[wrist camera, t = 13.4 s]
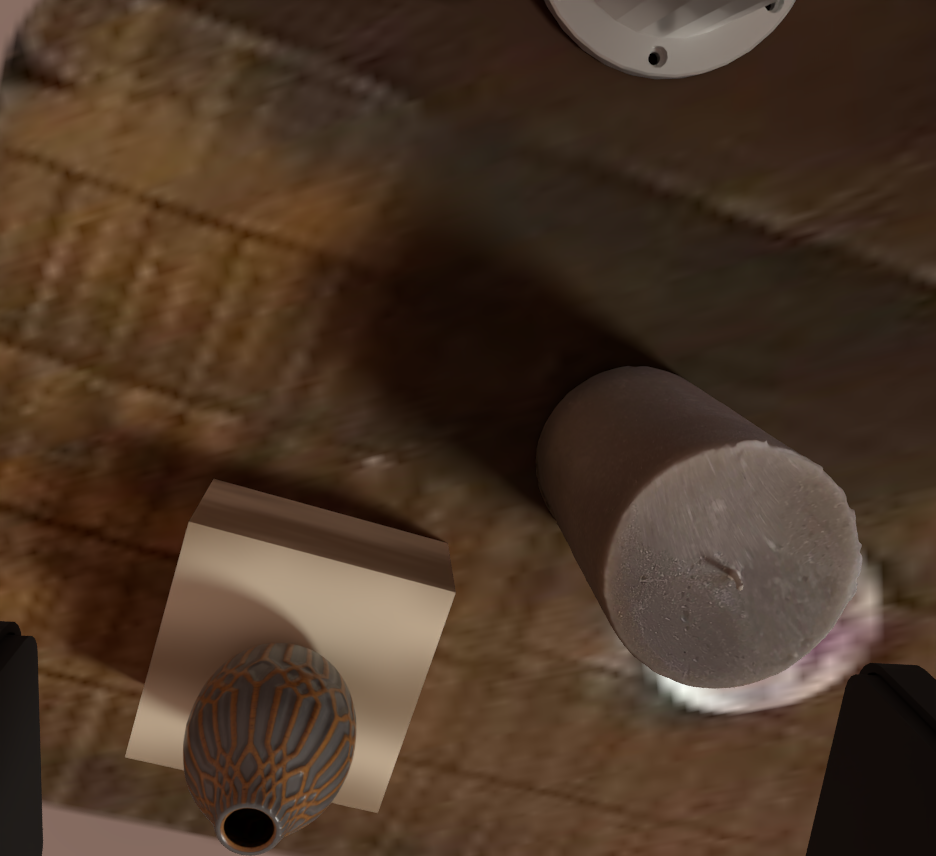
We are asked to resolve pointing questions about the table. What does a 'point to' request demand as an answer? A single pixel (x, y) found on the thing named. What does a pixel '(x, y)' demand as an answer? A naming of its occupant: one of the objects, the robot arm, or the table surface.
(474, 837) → the table surface
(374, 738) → the maple block
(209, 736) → the vase
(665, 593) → the pillar candle
